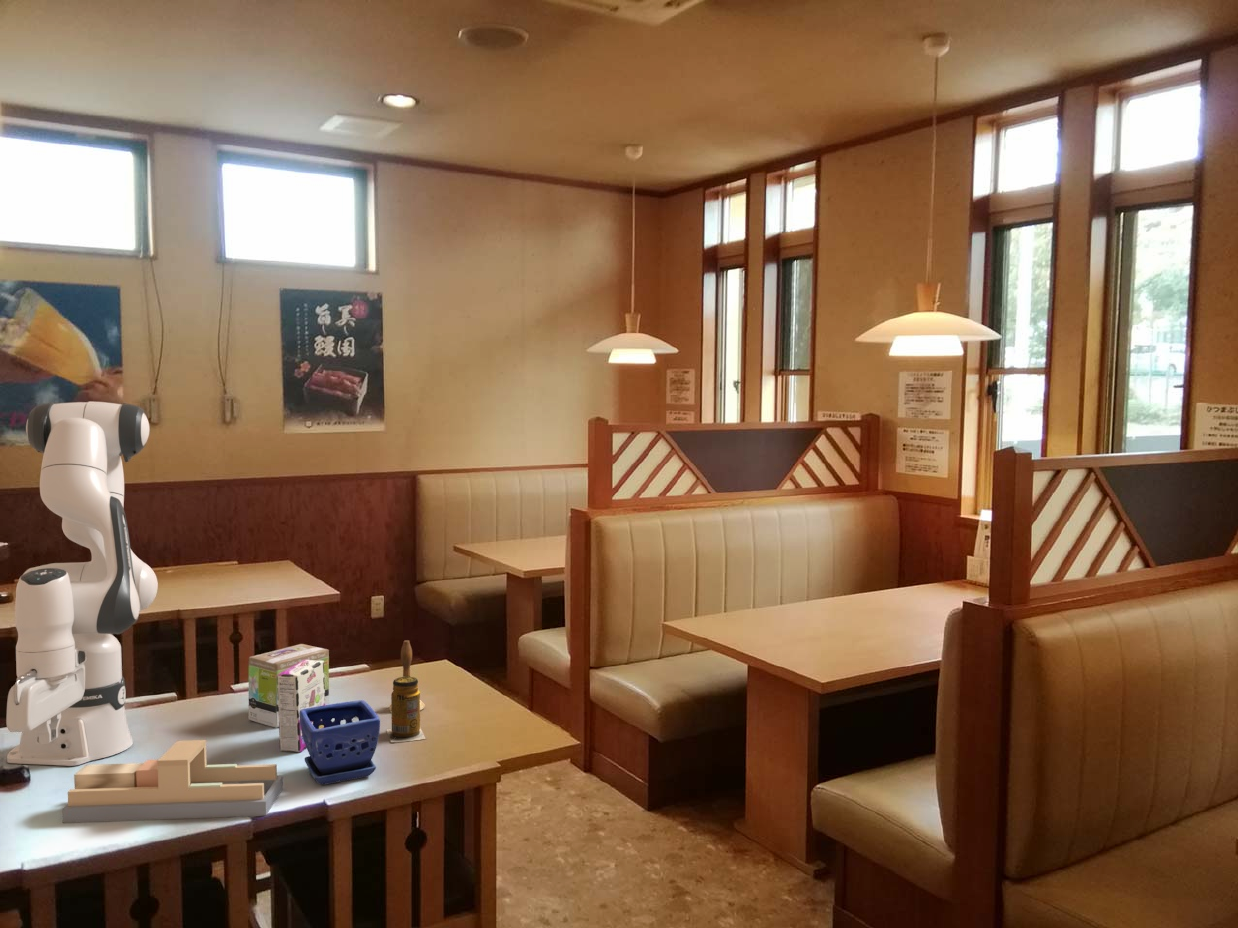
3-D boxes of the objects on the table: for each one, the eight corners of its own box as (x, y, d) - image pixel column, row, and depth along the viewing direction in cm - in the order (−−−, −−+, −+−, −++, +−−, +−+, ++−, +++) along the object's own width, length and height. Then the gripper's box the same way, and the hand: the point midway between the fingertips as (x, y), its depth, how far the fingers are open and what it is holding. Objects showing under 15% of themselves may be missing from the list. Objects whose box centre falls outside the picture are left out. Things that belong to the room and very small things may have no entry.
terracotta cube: (137, 798, 167) (136, 770, 167) (148, 786, 172) (147, 759, 172) (166, 797, 168) (165, 769, 167) (177, 785, 173) (176, 758, 172)
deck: (62, 822, 163) (60, 765, 162) (93, 794, 175) (91, 741, 174) (266, 815, 166) (264, 759, 166) (283, 787, 178) (281, 735, 177)
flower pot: (383, 778, 183) (382, 717, 182) (312, 792, 176) (311, 729, 175) (365, 755, 194) (364, 698, 193) (298, 767, 188) (296, 708, 187)
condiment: (419, 726, 211) (419, 673, 210) (425, 739, 203) (425, 684, 202) (386, 730, 209) (385, 676, 208) (390, 743, 201) (390, 687, 200)
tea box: (277, 729, 209) (275, 663, 208) (247, 720, 214) (246, 656, 213) (330, 710, 222) (329, 647, 221) (301, 702, 227) (300, 641, 226)
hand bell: (385, 704, 226) (384, 638, 224) (420, 700, 229) (419, 635, 228) (392, 715, 218) (392, 647, 217) (428, 710, 222) (428, 643, 220)
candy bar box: (305, 732, 207) (304, 658, 206) (327, 734, 206) (325, 659, 205) (277, 751, 196) (275, 673, 195) (299, 753, 195) (298, 674, 194)
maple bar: (75, 799, 166) (74, 774, 166) (86, 789, 171) (86, 764, 171) (134, 797, 167) (133, 772, 167) (144, 787, 172) (144, 762, 172)
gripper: (34, 678, 156) (36, 761, 157) (91, 649, 177) (93, 722, 177) (-7, 679, 156) (-4, 762, 156) (55, 650, 176) (57, 723, 177)
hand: (48, 741), depth 167 cm, fingers closed
